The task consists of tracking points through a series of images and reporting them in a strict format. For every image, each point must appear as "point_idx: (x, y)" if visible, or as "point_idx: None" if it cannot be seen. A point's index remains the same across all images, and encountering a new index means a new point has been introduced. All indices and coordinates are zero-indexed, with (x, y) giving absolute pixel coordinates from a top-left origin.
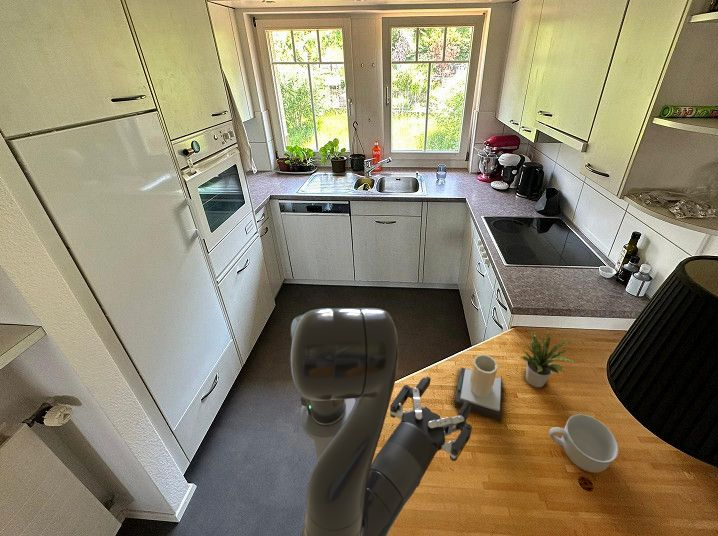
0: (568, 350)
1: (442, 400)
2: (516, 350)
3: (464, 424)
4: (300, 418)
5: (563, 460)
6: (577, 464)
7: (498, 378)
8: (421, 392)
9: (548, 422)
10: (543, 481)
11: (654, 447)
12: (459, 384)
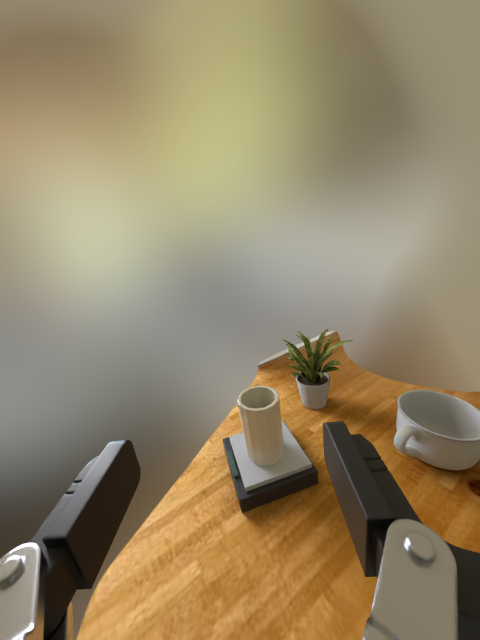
0: (332, 338)
1: (216, 518)
2: (274, 385)
3: (473, 578)
4: None
5: (431, 477)
6: (456, 467)
7: None
8: (79, 553)
9: (368, 439)
10: (454, 539)
11: (461, 395)
12: (232, 466)
